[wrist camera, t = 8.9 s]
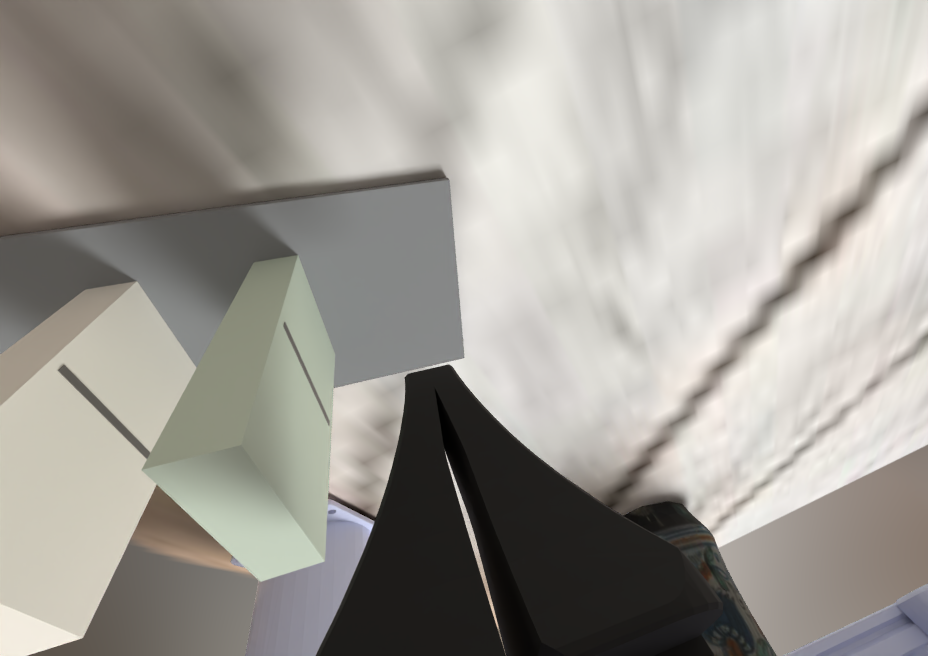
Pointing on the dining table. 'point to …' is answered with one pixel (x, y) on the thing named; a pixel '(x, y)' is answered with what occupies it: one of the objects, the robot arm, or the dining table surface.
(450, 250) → the mat
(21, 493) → the domino
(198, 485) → the sage domino
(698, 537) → the beer stein
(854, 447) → the dining table surface
